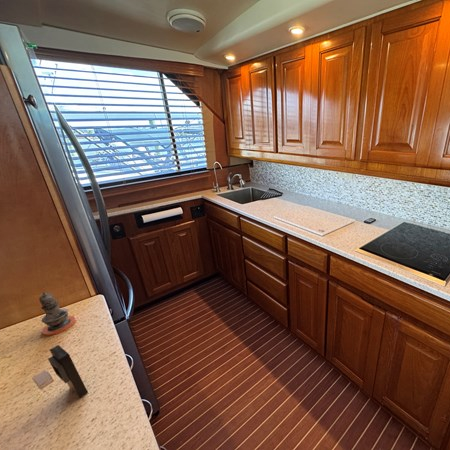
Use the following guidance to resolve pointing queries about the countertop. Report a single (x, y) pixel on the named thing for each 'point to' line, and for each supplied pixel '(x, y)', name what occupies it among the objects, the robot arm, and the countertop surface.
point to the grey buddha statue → (53, 313)
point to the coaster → (46, 332)
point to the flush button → (43, 379)
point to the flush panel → (67, 370)
